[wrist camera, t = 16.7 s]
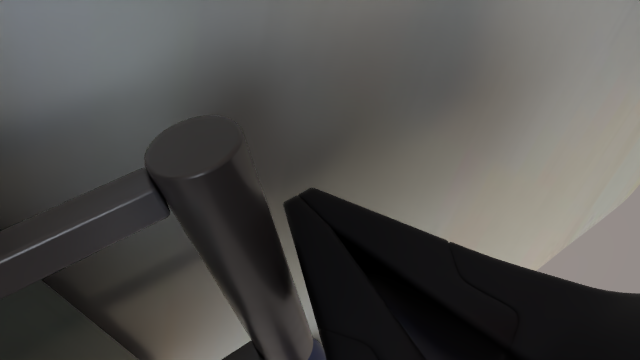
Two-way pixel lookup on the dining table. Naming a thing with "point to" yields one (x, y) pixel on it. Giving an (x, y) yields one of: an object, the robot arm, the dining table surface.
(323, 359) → the tin
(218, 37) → the dining table surface
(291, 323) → the drawer
